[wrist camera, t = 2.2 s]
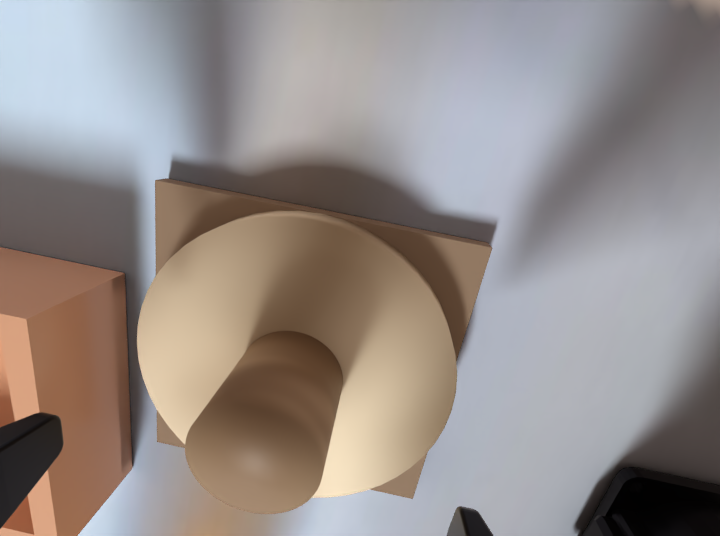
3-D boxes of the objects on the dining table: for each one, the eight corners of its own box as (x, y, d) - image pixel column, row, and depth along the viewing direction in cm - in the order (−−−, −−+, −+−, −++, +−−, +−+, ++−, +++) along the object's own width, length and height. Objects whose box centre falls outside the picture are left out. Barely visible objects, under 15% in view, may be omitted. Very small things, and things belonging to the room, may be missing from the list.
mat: (487, 242, 11) (492, 247, 10) (412, 484, 14) (412, 499, 14) (167, 178, 11) (155, 180, 11) (166, 430, 14) (157, 441, 14)
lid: (492, 248, 10) (551, 311, 6) (412, 498, 14) (419, 642, 10) (155, 179, 11) (13, 200, 7) (157, 440, 14) (62, 557, 10)
